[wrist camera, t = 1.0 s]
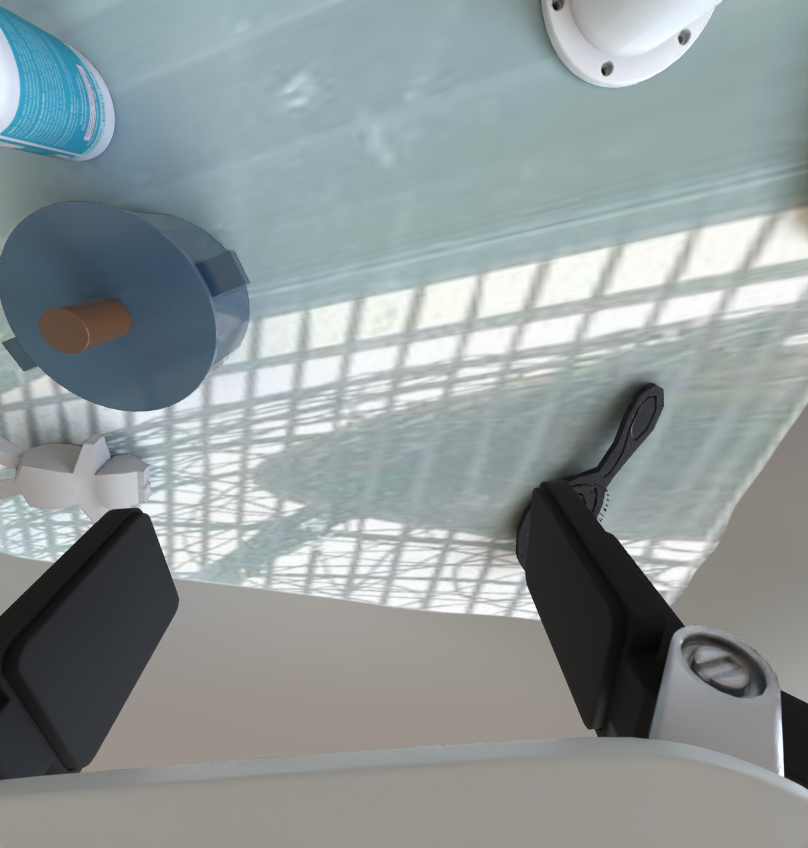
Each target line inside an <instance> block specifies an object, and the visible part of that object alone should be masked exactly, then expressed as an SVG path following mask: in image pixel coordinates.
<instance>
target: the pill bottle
mask: <svg viewBox="0 0 808 848" xmlns="http://www.w3.org/2000/svg"><path fill="white" fill-rule="evenodd" d="M114 127H115V113H114V107H113V103H112V99H111V96H110V93H109V91H108V88H107V86H106V84H105V82H104V80H103V79H102V77H101V76H100V74H99V73H98V71H97V70H96V69H95V67H94V66H93V65H92V64H91V63H90V62H89V61H88V60H87V59H86V58H85V57H84V56H83V55H82V54H81V53H79V52H78V51H77V50H76V49H74V48H73V47H71V46H70V45H68V44H66V43H65V42H63V41H61V40H59V39H58V38H56V37H54V36H52V35H51V34H49V33H47V32H45V31H44V30H42V29H40V28H38V27H36V26H35V25H33V24H31V23H29V22H28V21H26V20H24V19H22V18H21V17H19V16H17V15H15V14H14V13H12V12H10V11H8V10H6V9H5V8H3V7H1V6H0V146H3V147H8V148H12V149H17V150H22V151H27V152H31V153H36V154H40V155H45V156H49V157H54V158H59V159H64V160H69V161H85V160H89V159H92V158H95V157H96V156H98V155H99V154H101V153H102V152H103V151H104V150H105V149H106V148H107V146H108V145H109V143H110V141H111V139H112V136H113V133H114Z"/></svg>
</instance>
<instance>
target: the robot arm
mask: <svg viewBox="0 0 808 848" xmlns="http://www.w3.org/2000/svg"><path fill="white" fill-rule="evenodd" d="M722 1H723V0H541V2H542V12H543V17H544V22H545V27H546V30H547V33H548V36H549V38H550V41H551V44H552V46H553V48H554V50H555V51H556V53H557V54H558V56H559V58H560V59H561V61H562V62H563V63H564V64H565V65H566V66H567V68H568V69H569V70H570V71H571V72H572V73H573V74H575V75H576V76H578V77H579V78H581V79H583V80H584V81H586V82H588V83H591V84H594V85H597V86H600V87H612V88H619V87H624V86H630V85H634V84H637V83H639V82H641V81H644V80H646V79H649V78H650V77H652V76H654V75H655V74H657V73H659V72H661V71H662V70H664V69H665V68H666V67H668V66H669V65H670V64H672V63H673V62H674V61H676V60H677V59H678V58H679V57H680V56H681V55H682V54H683V53H684V52H685V51H686V50H687V49H688V48H689V47H690V46H691V45H692V44H693V42H694V41H695V40H696V38H697V37H698V35H699V34H700V33H701V31H702V30H703V28H704V27H705V26H706V24H707V22H708V20H709V18H710V16H711V15H712V13H713V11H714V9H715V7H716V5H717V4H719V3H720V2H722ZM552 4H555V5H556V7H557V11H556V10H554V9H553V7H552ZM678 39H679V41H678ZM601 69H603V70H604V71H605V73H604V75H602V72H601ZM525 575H526V582H527V586H528V589H529V591H530V594H531V596H532V599H533V601H534V604H535V606H536V608H537V611H538V613H539V616H540V618H541V621H542V623H543V626H544V628H545V630H546V633H547V635H548V637H549V640H550V643H551V645H552V647H553V650H554V652H555V655H556V657H557V660H558V662H559V664H560V667H561V669H562V672H563V674H564V677H565V679H566V681H567V684H568V686H569V689H570V691H571V694H572V696H573V698H574V701H575V703H576V705H577V708H578V711H579V713H580V715H581V718H582V720H583V722H584V724H585V726H586V727H587V728H588V729H595V731H596V733H597V736H598V737H578V738H557V739H540V740H539V739H537V740H518V741H497V742H483V743H468V744H455V745H440V746H425V747H411V748H396V749H383V750H367V751H353V752H341V753H326V754H313V755H300V756H286V757H273V758H260V759H247V760H234V761H221V762H209V763H208V762H207V763H194V764H181V765H169V766H157V767H144V768H133V769H120V770H108V771H96V772H83V773H80V771H81V770H82V768H83V767H86V766H87V765H89V764H90V762H91V761H92V760H93V758H94V757H95V755H96V753H97V752H98V750H99V748H100V747H101V745H102V743H103V741H104V739H105V737H106V736H107V734H108V732H109V730H110V729H111V727H112V725H113V723H114V722H115V720H116V718H117V716H118V714H119V712H120V711H121V709H122V707H123V705H124V704H125V702H126V700H127V698H128V697H129V695H130V693H131V691H132V690H133V688H134V686H135V684H136V682H137V680H138V679H139V677H140V675H141V674H142V672H143V670H144V668H145V667H146V665H147V663H148V661H149V659H150V657H151V656H152V654H153V652H154V650H155V649H156V647H157V645H158V643H159V642H160V640H161V638H162V636H163V634H164V632H165V631H166V629H167V627H168V626H169V624H170V622H171V620H172V619H173V617H174V615H175V613H176V611H177V608H178V603H179V597H178V594H177V591H176V588H175V585H174V582H173V580H172V577H171V574H170V571H169V569H168V566H167V563H166V560H165V558H164V555H163V552H162V549H161V547H160V544H159V541H158V538H157V535H156V533H155V530H154V527H153V524H152V522H151V519H150V517H149V515H147V514H145V513H143V512H142V511H141V510H140V509H139V508H125V509H112V510H109V511H108V512H106V513H105V514H104V515H103V516H102V517H101V518H100V519H99V520H98V521H97V522H96V523H95V524H94V525H93V526H92V527H91V528H90V529H89V530H88V531H87V532H86V533H85V534H84V535H83V536H82V537H81V538H80V539H79V540H78V541H77V542H76V543H75V544H74V545H73V546H72V547H71V548H70V549H68V550H67V551H66V552H65V553H64V554H63V555H62V556H61V557H60V558H59V559H58V560H57V561H56V562H55V563H54V564H53V565H52V566H51V567H50V568H49V569H48V570H47V571H46V572H45V573H44V574H43V575H42V576H41V577H40V578H39V579H38V580H37V581H36V582H35V583H34V584H33V585H32V586H31V587H30V588H29V589H28V590H27V591H25V592H24V593H23V595H21V596H20V597H19V598H18V599H17V601H15V602H14V603H13V604H12V605H11V606H10V607H9V608H8V609H7V610H6V611H5V612H4V613H3V614H2V615H1V616H0V848H808V703H806V702H804V701H802V700H800V699H798V698H796V697H794V696H791V695H790V694H787V693H785V692H783V691H781V690H780V686H779V682H778V678H777V676H776V674H775V672H774V671H773V669H772V668H771V666H770V665H769V663H768V662H767V661H766V660H765V659H764V658H763V657H762V656H761V655H760V654H759V653H758V652H757V651H756V650H754V649H753V648H752V647H750V646H749V645H747V644H746V643H744V642H743V641H742V640H740V639H738V638H736V637H734V636H732V635H730V634H728V633H726V632H723V631H720V630H717V629H714V628H711V627H705V626H696V625H695V626H688V627H685V626H684V625H683V623H682V622H681V621H680V620H679V618H678V617H677V616H676V614H675V613H674V612H673V610H672V609H671V608H670V607H669V605H668V604H667V603H666V601H665V600H664V599H663V598H662V596H661V595H660V594H659V592H658V591H657V590H656V589H655V587H654V586H653V585H652V583H651V582H650V581H649V580H648V578H647V577H646V576H645V574H644V573H643V572H642V571H641V569H640V568H639V567H638V565H637V564H636V563H635V562H634V560H633V559H632V558H631V556H630V555H629V554H628V553H627V551H626V550H625V549H624V547H623V546H622V545H621V544H620V542H619V541H618V540H617V538H616V537H615V536H614V535H613V534H611V533H608V532H606V531H605V530H604V529H603V527H602V526H601V525H600V523H599V522H598V521H597V519H596V518H595V517H594V515H593V514H592V513H591V511H590V510H589V509H588V507H587V506H586V505H585V504H584V502H583V501H582V500H581V498H580V497H579V496H578V494H577V493H576V492H575V490H574V489H573V488H572V486H571V485H570V484H569V483H568V482H567V481H565V480H563V481H547V482H542V483H541V485H540V488H535V489H534V490H533V496H532V507H531V517H530V528H529V539H528V550H527V561H526V573H525Z"/></svg>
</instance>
